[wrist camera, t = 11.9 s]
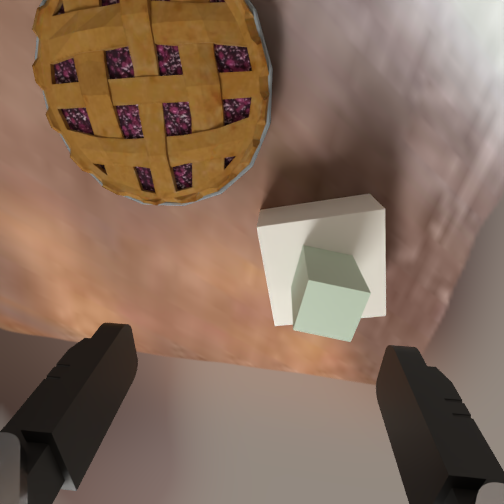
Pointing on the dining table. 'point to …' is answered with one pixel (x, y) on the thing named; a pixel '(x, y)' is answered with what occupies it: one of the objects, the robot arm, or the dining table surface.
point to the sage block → (328, 294)
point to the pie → (156, 92)
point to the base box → (323, 246)
